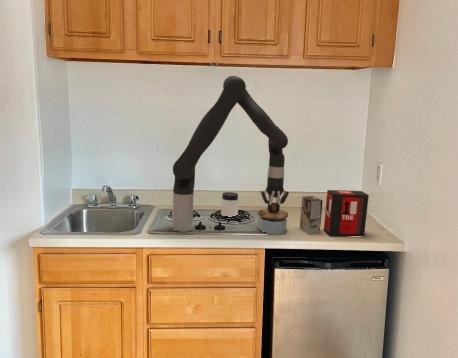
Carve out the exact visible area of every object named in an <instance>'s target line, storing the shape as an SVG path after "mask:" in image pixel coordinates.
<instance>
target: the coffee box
mask: <svg viewBox="0 0 458 358" xmlns="http://www.w3.org/2000/svg"><path fill="white" fill-rule="evenodd" d="M323 203H324V202H323V199H320V198H319V197H316V196H313V195H308V196H307V195H306V196H301V206H300V207H301V209H300V218H299V219H300V220H299V221H300V222H299V229H300V230H301V231H303V232H304V233H306V234H308V235H314V234H317V235H318V234H320V233H321V227H322V225H321V223H322V214H323V213H322V212H323Z"/></svg>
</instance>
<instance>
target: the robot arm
mask: <svg viewBox="0 0 458 358" xmlns="http://www.w3.org/2000/svg"><path fill="white" fill-rule="evenodd" d="M222 85H223V86H222V89H223V90H222V91H221V93H220V95H219V96H218V99H217V101H216V102H215V103H214V105H212V107H211V108H210V109H209V110H208V111H207V112H206V113H205V114H204V115H203V117H202V119H201V120H200V122H199V123H198V125H197V127H196V129H195V130H194V132H193V134H192V136H191V138H190V140H189V142H188V144H187V146H186V148H185V149H184V151H183V152H182V153H181V155H180V156H179V157H178V159H176V161H175V162H174V163H173V165H172V173H173V176H174V182H173V183H174V184H173V188H172V191H173V192H172V213H171V215H172V217H171V219H172V220H171V227H172V231H173V232H180V233H181V232H182V233H183V232H184V233H185V232H187V233H188V232H190V231H192V230H193V224H194V223H193V222H194V221H193V219H194V197H195V196H194V195H195V194H194V193H195V192H194V191H195V181H196V179H195V178H196V166H197V163H198V162H199V160H200V158H201V157H202V156H203V154H204V153H205V152H206V150H208V149H209V147H210V146H211V144H212V143H213V142H214V141H215V139H216V138H217V136H218V135H219V133H220V131H221V130H222V128H223V126H224V124H225V122H226V121H227V119H228V117H229V115H230V113H231V112H232V110H233V109H234V107H235V106H236V105H237V104H238V105H239V106H240V107H241V109H242V110H243V111H244V112H245V113H246V115H247V116H248V117H249V119H250V120H251V122H252V123H253V125H255V126H256V127H257V129H258V130H259V131H260V133H262V134H263V135H264V136H266V137H267V139H268V141H267V142H268V143H267V144H268V155H269V159H268V169H267V179H266V180H267V181H266V188H265V189H264V190H260V195H261V197H262V200H263V202H264V203H265V204H267V208H266V209H267V210H268V211H269V212H270V213H271V209H272V205H271V204H272V202H273V200H274V198H275V200H276V201H275V203H277V209H276V212H278V211H279V210H281V209H280V208H281V205H283V204H285V202H286V200H287V198H288V196H289V194H290V192H289V191H287V190H285V189H284V182H285V161H286V160H285V155H284V152H283V151H284V150H283V149H285V148H286V147H287V146H288V143H289V139H288V137H287V134H286V133H284V131H283V130H282V129H281V128H280V127H278V126H277V124H276V123H275V122H274V121H273V120H272V118H271V117H270V116H269V114H268V113H267V112H266V111H265V110H264V109H263V108H262V107H261V106H260V105H259V104H258V103H257V101H255V100H254V98H253V97H252V96H251V95H250V93H249V92H248V90H247V84H246V82H245V80H244V79H243V78H242V77H240V76H238V75H229V76H228V77H226V78H225V79H224V81H223V84H222ZM266 195H268V198H267V196H266ZM281 195H282V196H281Z"/></svg>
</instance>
